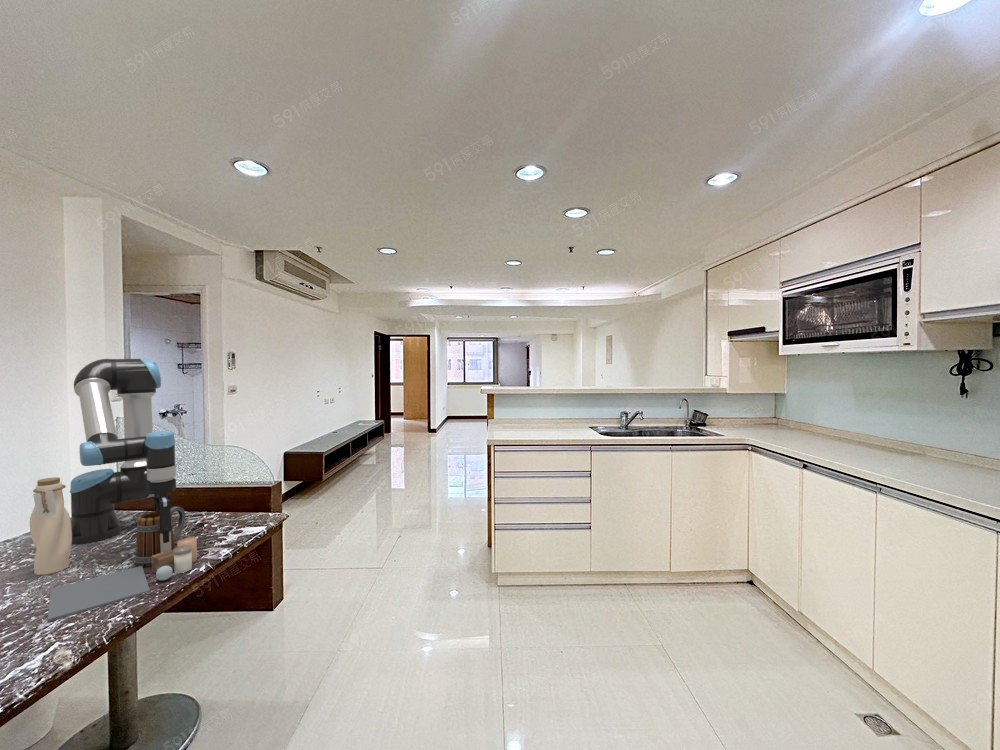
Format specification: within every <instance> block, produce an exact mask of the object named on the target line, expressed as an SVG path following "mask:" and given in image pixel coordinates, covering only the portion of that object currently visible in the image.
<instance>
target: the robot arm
mask: <svg viewBox="0 0 1000 750" xmlns="http://www.w3.org/2000/svg"><path fill="white" fill-rule="evenodd" d="M161 386H162V377H161V372H160V369H159V366H158V364H157V363H156V361H155V360H153V359H151V358H149V359H148V358H102V359H101V358H100V359H96V360H94V361H92V362H90V363H88V364H86V365H85V366H84V367H82V368H81V369H80V370H79V372H78V373H77V374H76V376H75V378H74V381H73V390H74V393H75V395H77V396H78V397H79V403H80V408H81V415H82V422H83V427H84V433H85V442H82V443H80V444H79V460H80V461H79V462H80V464H81V465H82V466H84V467H92V466H103V465H109V464H115V463H122V464H121V465H120V471H114V470H113V469H112V468H104V469H103V468H102V469H97V470H96V469H95V470H91V471H88V472H85V473H81V474H78V475H77V476H75V477H74V478H72V479H71V481H70V489H69V493H70V509H71V511H70V512H71V515H70V516H71V517H70V520H71V528H72V545H83V544H89V543H94V542H99V541H103V540H105V539H110V538H112V537H114V536H117V535H118V534H120V533H121V532H122V524H121V522H120V519H119V518H118V515H117V513H116V510H115V505H116V504H120V503H125V502H132V501H137V500H142V499H144V500H145V499H148V498H151V497H153V502H154V511H155V512H156V511H157V512H158V513H159V516H160V528H161V531H159V532H158V534H160V547H161V553H162V552H165V551H168V550H171V531H172V528H173V526H172V527H171V513H170V509H171V496H170V495H169V494H168V493H169V492H170V493H171V492H173V491H175V490H176V489H177V479H176V477H177V476H176V475H177V471H176V470H177V469H176V468H177V467H176V466H177V465H176V446H175V445H176V440H175V433H174V432H173V431H171V430H169V431H166V430H165V431H154V430H153V428H154V427H153V410H152V409H153V406H152V404H153V402H152V397H153V396H154V395H156V393H157V389H160V388H161ZM114 390H115V391H116V393H117V395H118V396H119V397H120V398H121V399H122V407H123V408H122V410H123V411H122V412H123V413H122V414H123V434H124V435H123V437H124V438H118V435H117V429H116V423H115V421H114V415H113V410H112V404H111V401H110V396H109V393H110V391H114ZM166 527H168V528H166Z"/></svg>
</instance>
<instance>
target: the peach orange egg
mask: <svg viewBox="0 0 1000 750" xmlns="http://www.w3.org/2000/svg"><path fill="white" fill-rule="evenodd" d="M176 542H177V547H179V546H183V545H191V546H192V562H195V561H196V560H197V561H198V550H197V549H198V547H197V545H198V543H197V537H193V536H192V537H185V538H182V539H179V540H177V541H176ZM197 561H196V562H197ZM196 562H195V563H196Z"/></svg>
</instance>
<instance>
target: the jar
mask: <svg viewBox="0 0 1000 750" xmlns="http://www.w3.org/2000/svg"><path fill="white" fill-rule="evenodd" d="M173 554H174V571H173V572H175V573H183V572H187V571H189V570H191V569H192V570H193V563H192V546H191V545H183V546H179V547H176V548H174V549H173ZM192 570H191V571H192ZM189 572H190V571H189ZM175 573H174V574H175ZM187 573H188V572H187ZM183 574H184V573H183Z"/></svg>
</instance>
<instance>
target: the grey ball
mask: <svg viewBox="0 0 1000 750" xmlns="http://www.w3.org/2000/svg"><path fill="white" fill-rule="evenodd" d="M173 572H174V571H173V570H172V568H171V567H170V566H162V567H160V568H159V569H158V570H157V572H156V574H155V577H156V579H157V580H159V581H161V582H162V581H167V580H168V579H170V578H171V577H172V575H173Z"/></svg>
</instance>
